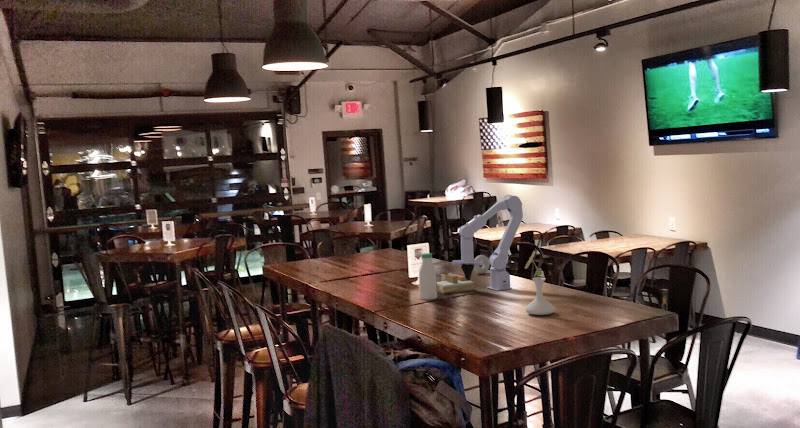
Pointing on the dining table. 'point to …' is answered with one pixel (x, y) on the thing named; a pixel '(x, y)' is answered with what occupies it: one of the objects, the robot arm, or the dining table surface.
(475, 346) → the dining table surface
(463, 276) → the salmon orange bar
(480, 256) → the donut
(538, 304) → the flower in vase
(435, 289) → the milk bottle
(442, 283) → the pale green plate
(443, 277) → the key channel
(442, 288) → the wooden box
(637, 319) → the dining table surface
